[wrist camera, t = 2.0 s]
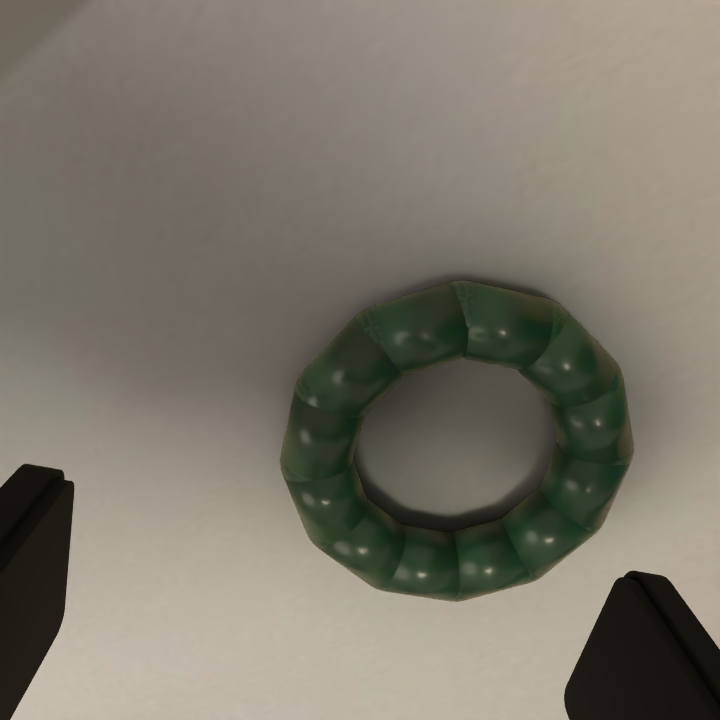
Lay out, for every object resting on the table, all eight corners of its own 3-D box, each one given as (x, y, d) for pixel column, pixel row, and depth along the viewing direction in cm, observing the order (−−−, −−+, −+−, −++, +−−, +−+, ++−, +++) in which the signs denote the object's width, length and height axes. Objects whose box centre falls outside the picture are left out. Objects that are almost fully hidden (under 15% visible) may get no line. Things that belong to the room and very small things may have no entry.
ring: (324, 242, 15) (323, 258, 13) (662, 317, 16) (703, 341, 14) (261, 542, 18) (253, 586, 16) (548, 587, 19) (569, 633, 17)
